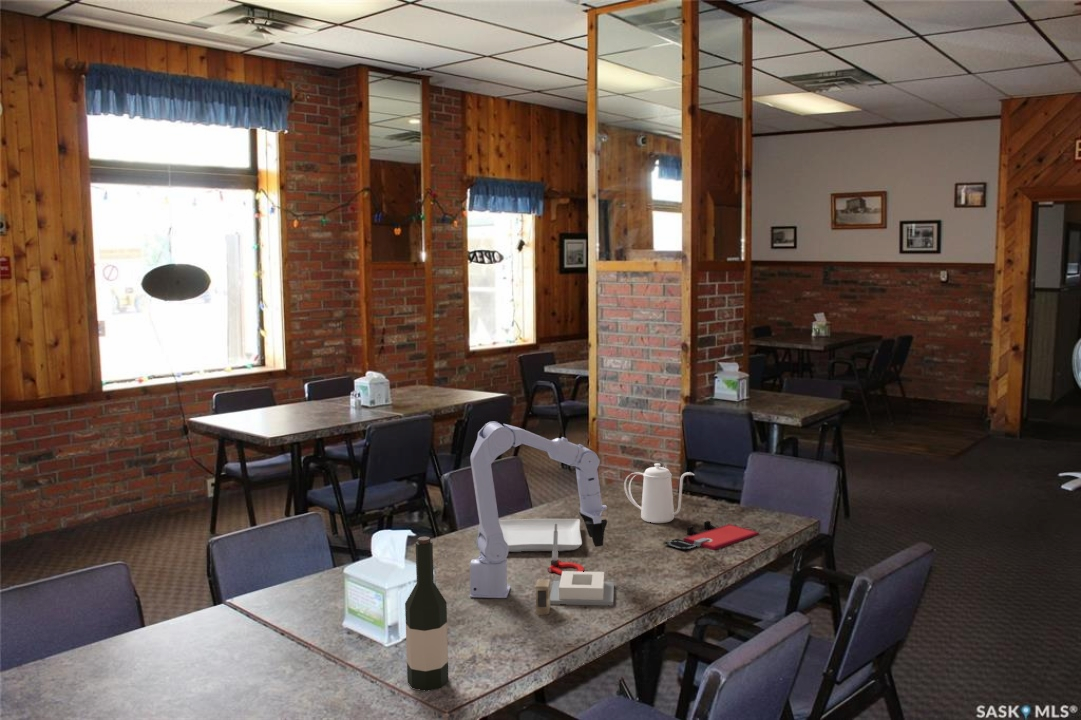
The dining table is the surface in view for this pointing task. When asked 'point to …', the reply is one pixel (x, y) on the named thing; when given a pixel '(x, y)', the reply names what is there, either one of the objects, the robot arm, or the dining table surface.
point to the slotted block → (582, 589)
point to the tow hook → (555, 561)
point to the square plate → (541, 534)
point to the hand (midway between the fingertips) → (596, 541)
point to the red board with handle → (712, 537)
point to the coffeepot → (657, 494)
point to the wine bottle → (426, 626)
